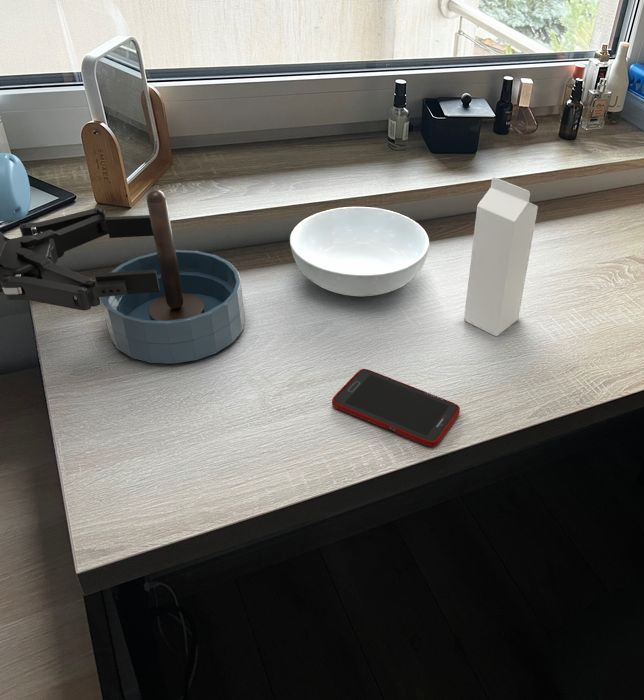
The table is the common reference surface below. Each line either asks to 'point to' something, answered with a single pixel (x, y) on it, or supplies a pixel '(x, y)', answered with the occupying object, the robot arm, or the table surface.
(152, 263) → the mixing bowl
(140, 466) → the table surface
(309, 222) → the serving bowl
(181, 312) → the paper towel holder
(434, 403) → the cell phone
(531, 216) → the milk
